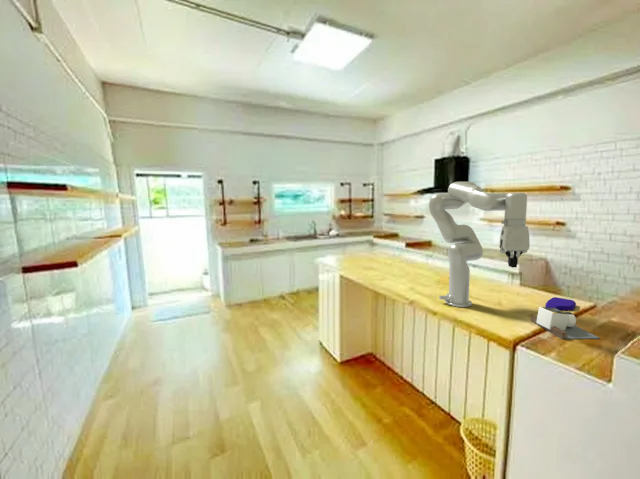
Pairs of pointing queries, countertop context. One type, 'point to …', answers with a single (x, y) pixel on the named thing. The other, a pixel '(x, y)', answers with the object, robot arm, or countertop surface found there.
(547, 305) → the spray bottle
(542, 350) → the countertop surface
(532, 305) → the countertop surface
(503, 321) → the countertop surface
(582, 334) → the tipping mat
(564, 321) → the medicine bottle
